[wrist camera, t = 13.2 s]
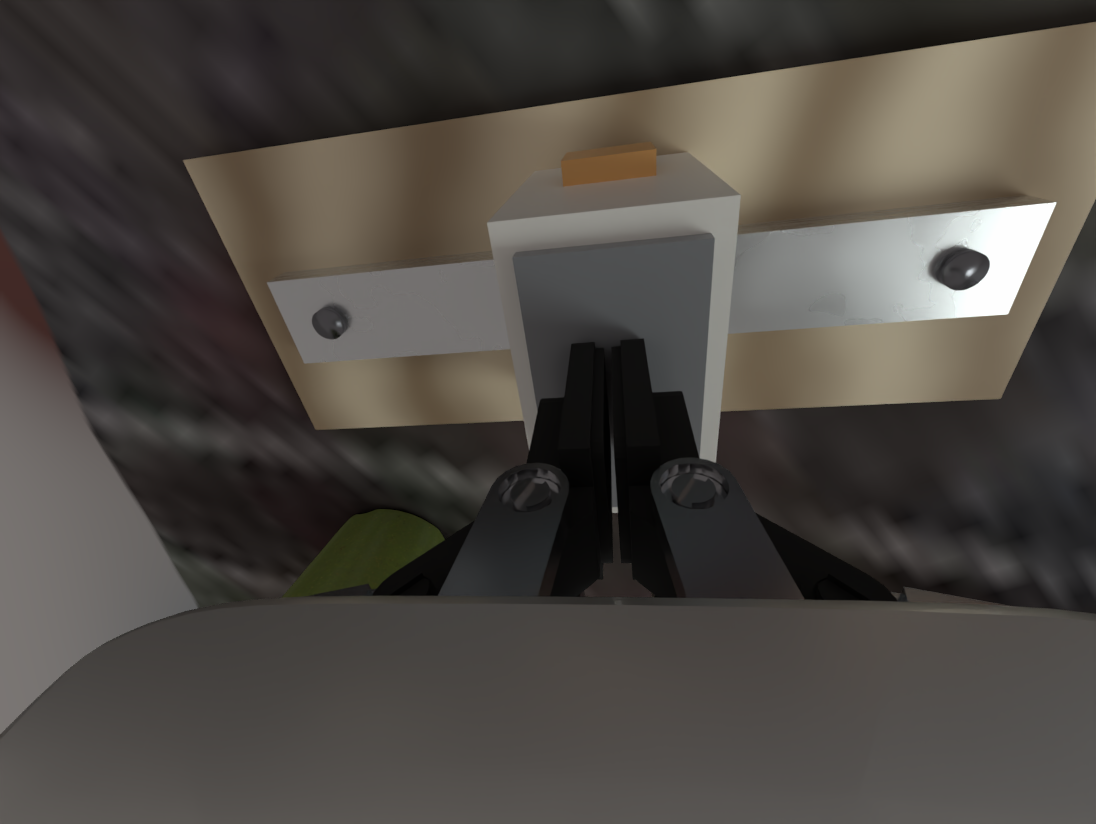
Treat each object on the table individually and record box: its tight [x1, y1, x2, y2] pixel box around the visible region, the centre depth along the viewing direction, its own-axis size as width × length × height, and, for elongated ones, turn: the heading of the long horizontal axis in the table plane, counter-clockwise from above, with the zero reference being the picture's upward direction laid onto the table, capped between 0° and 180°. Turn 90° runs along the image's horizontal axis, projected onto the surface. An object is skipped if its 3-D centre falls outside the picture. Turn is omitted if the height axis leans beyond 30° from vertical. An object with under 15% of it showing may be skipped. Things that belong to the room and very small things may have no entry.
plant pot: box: [282, 509, 445, 598], centre depth 25 cm, size 12×12×11 cm
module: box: [487, 142, 741, 513], centre depth 14 cm, size 5×9×8 cm, turn 7°
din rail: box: [267, 195, 1057, 364], centre depth 17 cm, size 26×4×2 cm, turn 97°
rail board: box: [183, 22, 1096, 430], centre depth 18 cm, size 30×12×1 cm, turn 97°
